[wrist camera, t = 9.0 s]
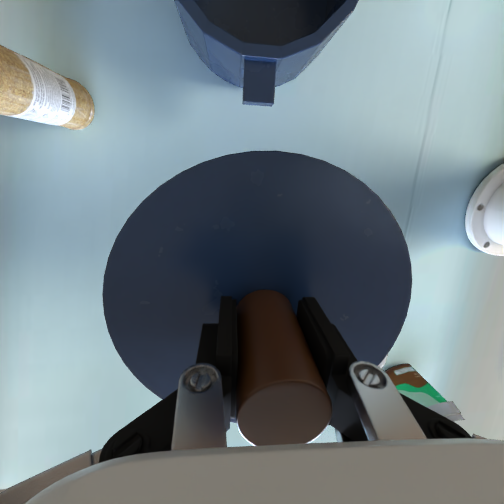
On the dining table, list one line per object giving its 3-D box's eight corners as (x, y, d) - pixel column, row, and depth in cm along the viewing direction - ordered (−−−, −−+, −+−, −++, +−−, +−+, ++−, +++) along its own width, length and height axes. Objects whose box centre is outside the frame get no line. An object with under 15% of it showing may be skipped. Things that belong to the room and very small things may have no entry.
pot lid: (435, 162, 12) (654, 162, 6) (366, 403, 17) (443, 540, 11) (89, 140, 11) (-113, 108, 4) (129, 410, 16) (63, 572, 10)
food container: (373, 356, 39) (418, 418, 30) (411, 356, 40) (466, 416, 30) (358, 413, 43) (393, 483, 34) (392, 412, 44) (436, 481, 34)
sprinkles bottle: (50, 71, 24) (-151, -28, 11) (100, 90, 25) (-37, 17, 12) (46, 121, 25) (-138, 82, 13) (93, 138, 26) (-36, 116, 14)
